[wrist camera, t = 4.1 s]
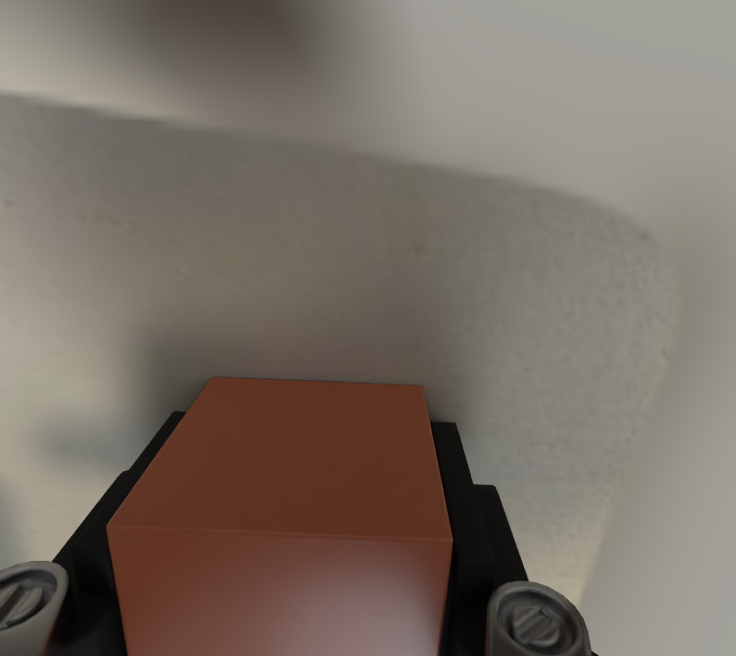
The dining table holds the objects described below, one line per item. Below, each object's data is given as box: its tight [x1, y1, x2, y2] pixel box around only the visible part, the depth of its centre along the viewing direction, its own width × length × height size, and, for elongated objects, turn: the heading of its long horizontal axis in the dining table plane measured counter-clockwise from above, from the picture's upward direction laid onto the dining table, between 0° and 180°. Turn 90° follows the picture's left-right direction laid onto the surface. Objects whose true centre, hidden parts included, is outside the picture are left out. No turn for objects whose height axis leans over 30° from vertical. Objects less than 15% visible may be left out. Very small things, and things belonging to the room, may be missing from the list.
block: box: [106, 377, 453, 656], centre depth 9 cm, size 4×4×4 cm
